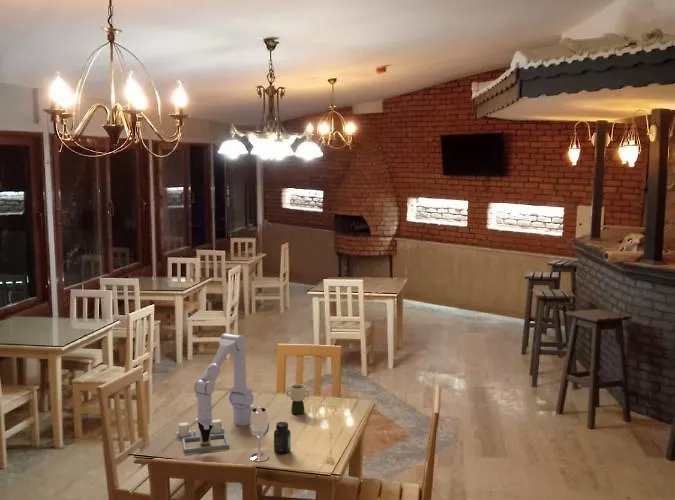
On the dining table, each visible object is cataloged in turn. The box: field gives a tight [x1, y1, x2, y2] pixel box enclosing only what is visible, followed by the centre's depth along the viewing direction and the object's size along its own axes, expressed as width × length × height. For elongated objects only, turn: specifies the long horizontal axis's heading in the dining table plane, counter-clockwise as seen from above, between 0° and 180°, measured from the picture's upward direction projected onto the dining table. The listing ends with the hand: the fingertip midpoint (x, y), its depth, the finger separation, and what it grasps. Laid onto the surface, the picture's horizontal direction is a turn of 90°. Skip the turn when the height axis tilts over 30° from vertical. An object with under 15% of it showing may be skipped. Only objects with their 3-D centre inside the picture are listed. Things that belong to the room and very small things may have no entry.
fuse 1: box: [178, 421, 190, 437], centre depth 289 cm, size 4×3×5 cm
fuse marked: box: [199, 430, 211, 445], centre depth 280 cm, size 4×3×5 cm
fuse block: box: [174, 426, 227, 440], centre depth 292 cm, size 21×6×3 cm, turn 106°
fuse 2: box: [211, 418, 223, 434], centre depth 293 cm, size 4×3×5 cm
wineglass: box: [248, 406, 270, 462], centre depth 270 cm, size 8×8×20 cm
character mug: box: [285, 383, 310, 415], centre depth 319 cm, size 11×7×13 cm, turn 87°
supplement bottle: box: [273, 421, 292, 456], centre depth 276 cm, size 7×7×12 cm
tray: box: [181, 434, 230, 456], centre depth 281 cm, size 18×12×2 cm, turn 106°
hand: (205, 439), depth 280 cm, fingers closed on fuse marked, 3 cm apart
